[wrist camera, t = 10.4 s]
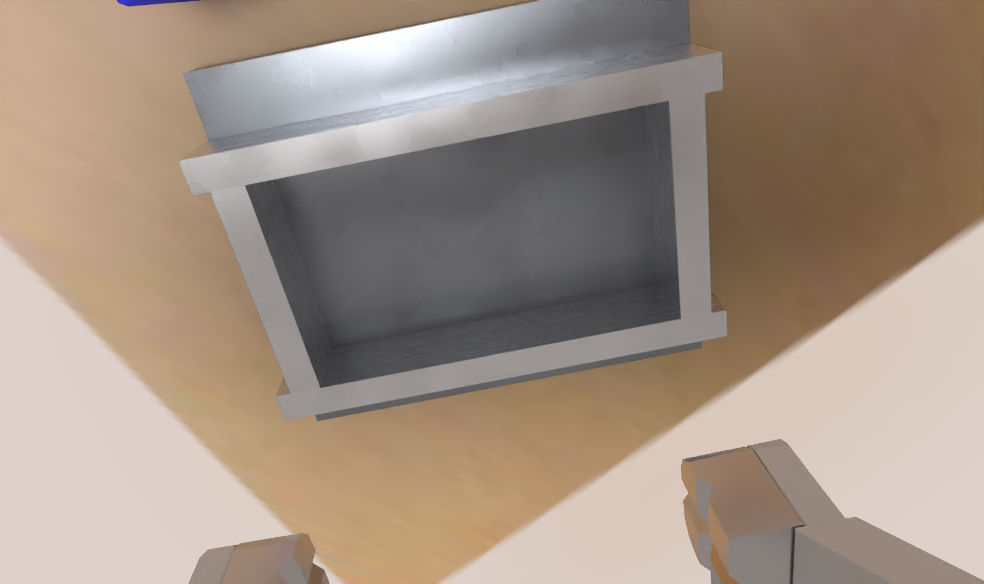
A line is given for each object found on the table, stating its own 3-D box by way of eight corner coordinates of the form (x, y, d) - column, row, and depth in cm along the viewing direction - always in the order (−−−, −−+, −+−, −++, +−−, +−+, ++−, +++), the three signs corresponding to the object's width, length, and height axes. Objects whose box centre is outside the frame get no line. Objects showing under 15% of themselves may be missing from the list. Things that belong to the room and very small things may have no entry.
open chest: (675, -29, 19) (720, -31, 16) (692, 334, 25) (728, 385, 22) (195, 69, 19) (147, 86, 16) (322, 405, 25) (304, 465, 22)
